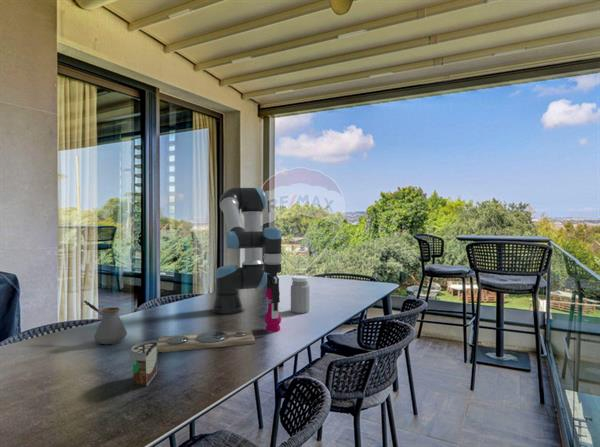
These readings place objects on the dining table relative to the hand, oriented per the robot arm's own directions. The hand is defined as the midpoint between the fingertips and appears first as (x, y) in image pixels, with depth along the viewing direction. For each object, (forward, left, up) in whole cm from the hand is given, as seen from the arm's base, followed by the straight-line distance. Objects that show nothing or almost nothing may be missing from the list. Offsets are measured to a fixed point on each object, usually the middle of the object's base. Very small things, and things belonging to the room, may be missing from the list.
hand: (272, 315), depth 160 cm
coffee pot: (-6, -68, -7) cm, 69 cm away
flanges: (+8, -22, -5) cm, 24 cm away
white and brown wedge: (+37, -48, -7) cm, 61 cm away
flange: (+8, -39, -5) cm, 40 cm away
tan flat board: (+8, -28, -6) cm, 30 cm away
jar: (-27, +20, -7) cm, 34 cm away
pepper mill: (0, 0, -7) cm, 7 cm away
